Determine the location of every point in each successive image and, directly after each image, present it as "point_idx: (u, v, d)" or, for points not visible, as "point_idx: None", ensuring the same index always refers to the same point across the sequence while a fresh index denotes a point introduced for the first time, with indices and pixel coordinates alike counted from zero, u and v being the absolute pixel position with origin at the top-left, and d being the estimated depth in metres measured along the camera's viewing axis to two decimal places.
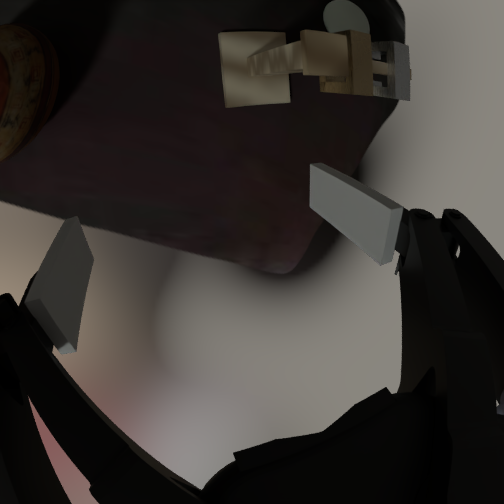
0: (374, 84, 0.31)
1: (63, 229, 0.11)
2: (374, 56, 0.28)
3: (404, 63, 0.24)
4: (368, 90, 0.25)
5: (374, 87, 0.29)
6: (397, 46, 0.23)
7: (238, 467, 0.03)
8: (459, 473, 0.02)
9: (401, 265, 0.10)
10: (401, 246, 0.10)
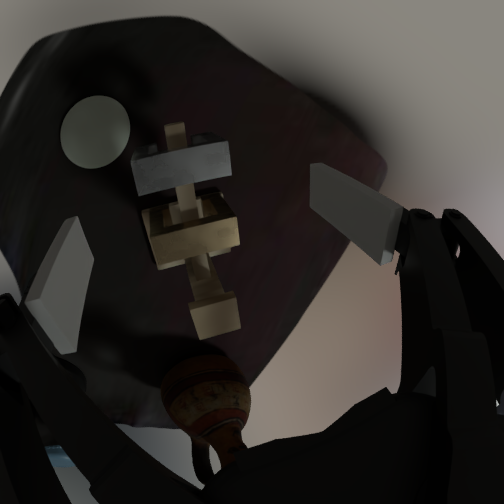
0: None
1: (63, 229, 0.11)
2: None
3: (167, 166, 0.21)
4: (230, 225, 0.25)
5: None
6: (144, 185, 0.21)
7: (238, 467, 0.03)
8: (459, 473, 0.02)
9: (401, 265, 0.10)
10: (401, 246, 0.10)
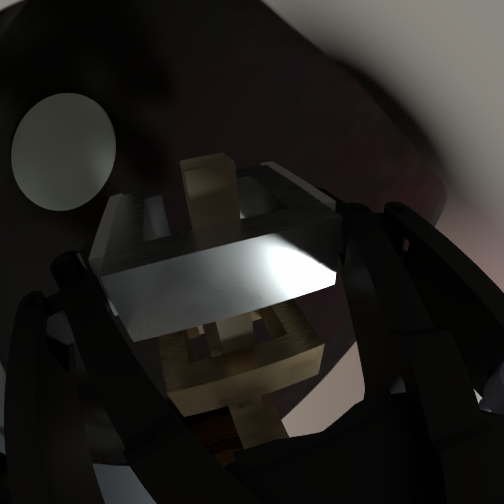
0: (247, 204, 0.14)
1: (112, 204, 0.12)
2: (159, 221, 0.13)
3: (197, 282, 0.09)
4: (311, 356, 0.13)
5: None
6: (143, 324, 0.09)
7: (238, 467, 0.03)
8: (459, 473, 0.02)
9: (341, 264, 0.11)
10: None
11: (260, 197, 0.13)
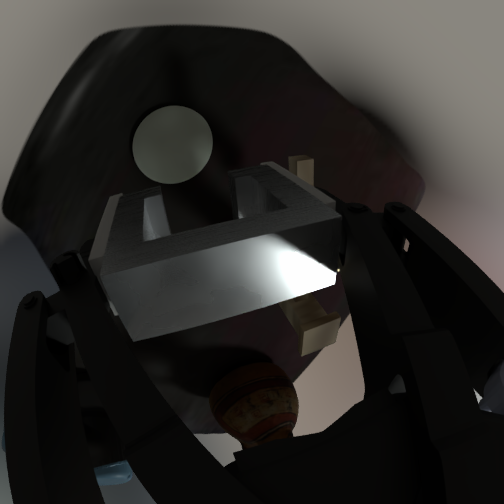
0: (247, 203, 0.14)
1: (112, 204, 0.12)
2: (158, 221, 0.13)
3: (197, 282, 0.09)
4: None
5: None
6: (143, 323, 0.09)
7: (238, 467, 0.03)
8: (459, 473, 0.02)
9: (341, 264, 0.11)
10: None
11: (260, 197, 0.13)
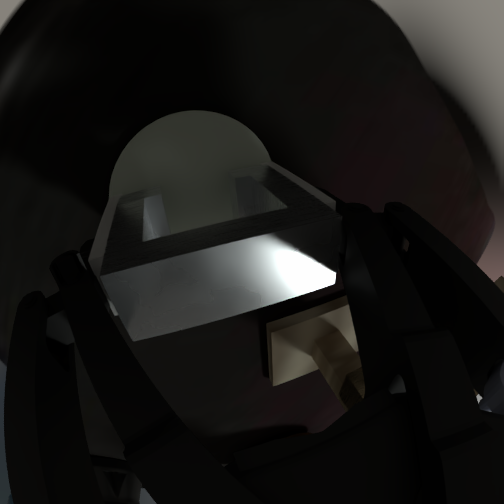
0: (247, 203, 0.14)
1: (112, 204, 0.12)
2: (159, 221, 0.13)
3: (197, 282, 0.09)
4: None
5: None
6: (143, 323, 0.09)
7: (238, 467, 0.03)
8: (459, 473, 0.02)
9: (341, 264, 0.11)
10: None
11: (260, 196, 0.13)
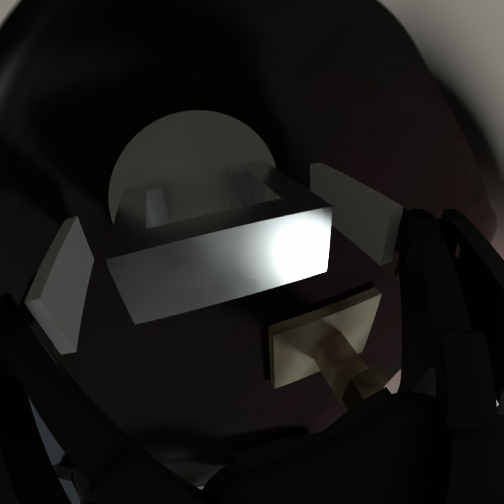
0: (244, 197, 0.15)
1: (63, 229, 0.11)
2: (160, 213, 0.14)
3: (196, 266, 0.09)
4: None
5: None
6: (144, 306, 0.09)
7: (238, 467, 0.03)
8: (459, 473, 0.02)
9: (401, 265, 0.10)
10: (401, 246, 0.10)
11: (256, 190, 0.13)
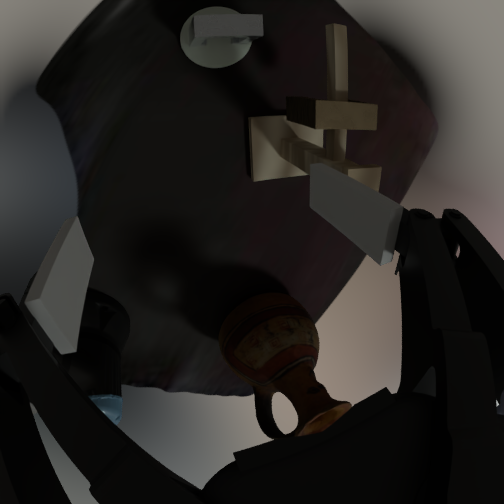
0: None
1: (63, 229, 0.11)
2: None
3: (219, 22, 0.23)
4: (373, 110, 0.25)
5: (244, 40, 0.28)
6: (200, 31, 0.23)
7: (238, 467, 0.03)
8: (459, 473, 0.02)
9: (401, 265, 0.10)
10: (401, 246, 0.10)
11: None
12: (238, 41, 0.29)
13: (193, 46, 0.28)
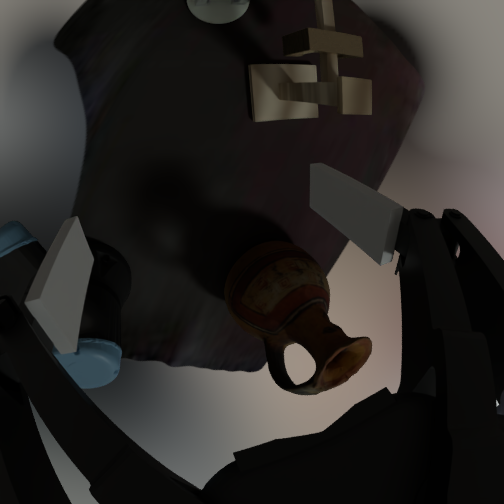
0: None
1: (63, 229, 0.11)
2: None
3: None
4: (358, 41, 0.25)
5: None
6: None
7: (238, 467, 0.03)
8: (459, 473, 0.02)
9: (401, 265, 0.10)
10: (401, 246, 0.10)
11: None
12: (237, 1, 0.29)
13: (198, 5, 0.28)
